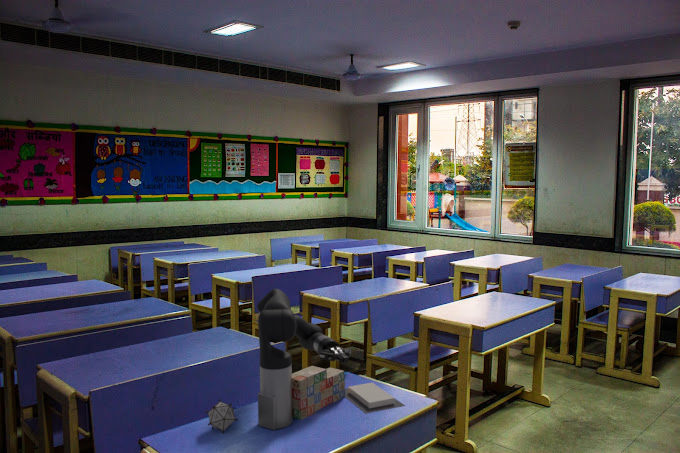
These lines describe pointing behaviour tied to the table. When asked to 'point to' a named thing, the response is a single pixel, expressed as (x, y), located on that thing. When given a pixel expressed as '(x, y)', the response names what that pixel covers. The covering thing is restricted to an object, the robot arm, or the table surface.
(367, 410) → the mat
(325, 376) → the stack of blocks
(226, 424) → the game die
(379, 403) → the tile
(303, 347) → the robot arm
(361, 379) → the table surface
